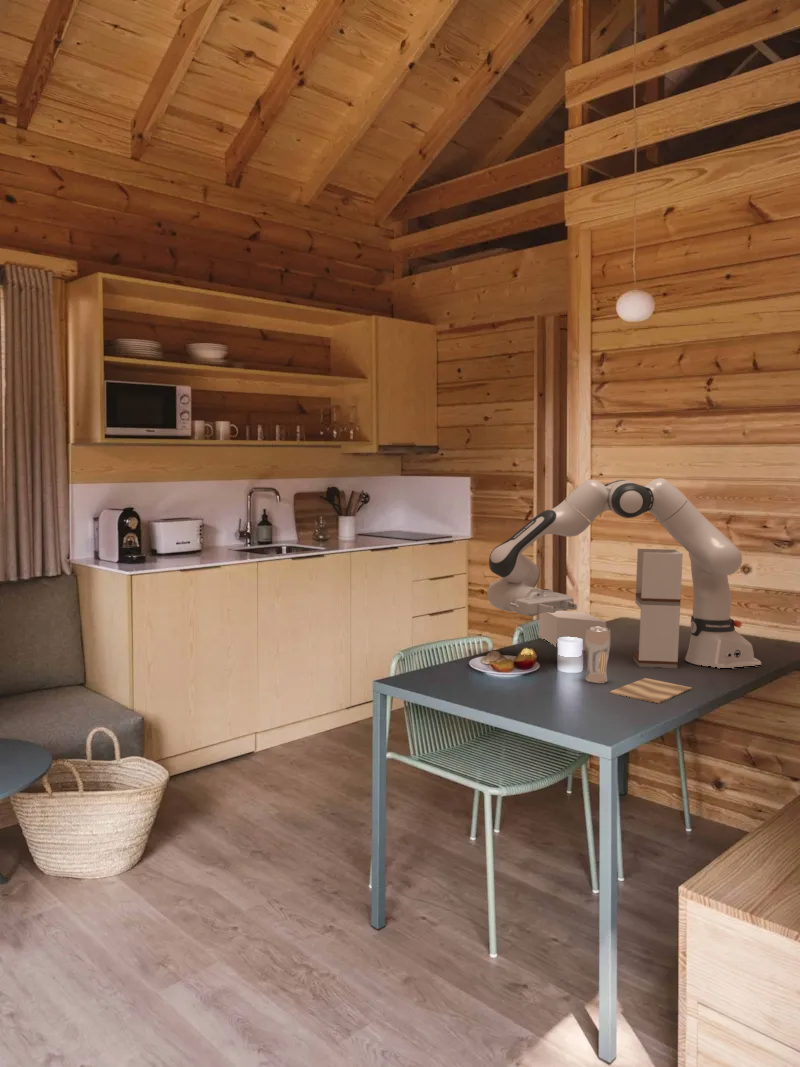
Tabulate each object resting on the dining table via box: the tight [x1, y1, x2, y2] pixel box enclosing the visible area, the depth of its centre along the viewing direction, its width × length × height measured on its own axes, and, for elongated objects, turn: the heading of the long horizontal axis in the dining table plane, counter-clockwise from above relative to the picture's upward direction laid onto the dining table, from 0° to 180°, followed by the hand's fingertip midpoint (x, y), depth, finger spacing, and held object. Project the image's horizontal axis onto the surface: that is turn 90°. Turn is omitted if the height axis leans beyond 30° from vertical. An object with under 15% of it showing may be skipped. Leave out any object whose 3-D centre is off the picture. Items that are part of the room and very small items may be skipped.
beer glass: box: [584, 627, 612, 684], centre depth 247 cm, size 7×7×15 cm
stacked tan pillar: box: [632, 548, 684, 669], centre depth 268 cm, size 11×11×35 cm
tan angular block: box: [538, 610, 607, 651], centre depth 294 cm, size 14×29×10 cm, turn 39°
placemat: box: [609, 677, 693, 705], centre depth 237 cm, size 20×14×1 cm
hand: (565, 608), depth 255 cm, fingers open, 8 cm apart
